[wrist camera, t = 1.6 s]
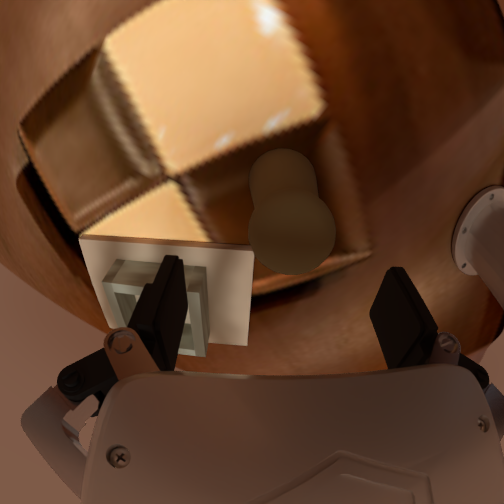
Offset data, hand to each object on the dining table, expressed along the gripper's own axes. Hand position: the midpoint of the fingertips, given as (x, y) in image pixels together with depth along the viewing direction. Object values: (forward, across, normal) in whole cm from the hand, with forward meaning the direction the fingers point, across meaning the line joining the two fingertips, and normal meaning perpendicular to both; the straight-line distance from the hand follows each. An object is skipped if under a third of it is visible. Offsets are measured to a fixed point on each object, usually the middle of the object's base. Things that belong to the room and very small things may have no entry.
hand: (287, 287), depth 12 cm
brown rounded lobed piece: (+14, -1, 0) cm, 15 cm away
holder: (+15, +11, +15) cm, 23 cm away
